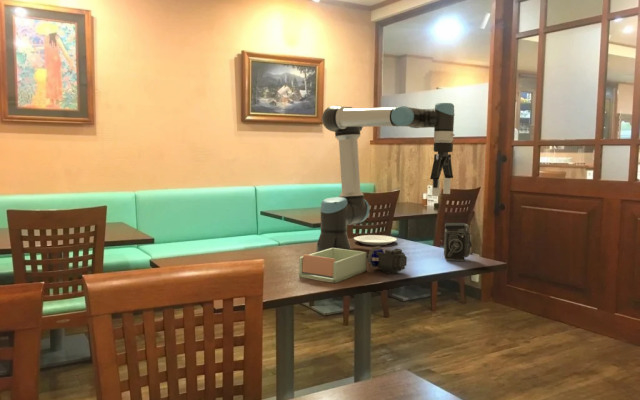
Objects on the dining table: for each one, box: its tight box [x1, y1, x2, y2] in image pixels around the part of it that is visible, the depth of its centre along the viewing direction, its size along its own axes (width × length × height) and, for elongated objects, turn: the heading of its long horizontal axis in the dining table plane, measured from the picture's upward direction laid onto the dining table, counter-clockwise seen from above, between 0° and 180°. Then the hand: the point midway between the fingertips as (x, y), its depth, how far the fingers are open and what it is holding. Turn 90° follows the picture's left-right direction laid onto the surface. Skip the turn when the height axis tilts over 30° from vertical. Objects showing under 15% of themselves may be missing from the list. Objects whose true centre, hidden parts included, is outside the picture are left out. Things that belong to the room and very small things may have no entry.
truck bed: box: [298, 248, 368, 284], centre depth 183 cm, size 15×22×7 cm
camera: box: [443, 222, 473, 262], centre depth 208 cm, size 10×10×15 cm
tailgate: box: [302, 254, 335, 278], centre depth 174 cm, size 12×1×7 cm, turn 57°
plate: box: [353, 234, 398, 246], centre depth 247 cm, size 21×21×2 cm
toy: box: [367, 245, 408, 275], centre depth 187 cm, size 9×9×15 cm
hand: (441, 195), depth 205 cm, fingers open, 13 cm apart
